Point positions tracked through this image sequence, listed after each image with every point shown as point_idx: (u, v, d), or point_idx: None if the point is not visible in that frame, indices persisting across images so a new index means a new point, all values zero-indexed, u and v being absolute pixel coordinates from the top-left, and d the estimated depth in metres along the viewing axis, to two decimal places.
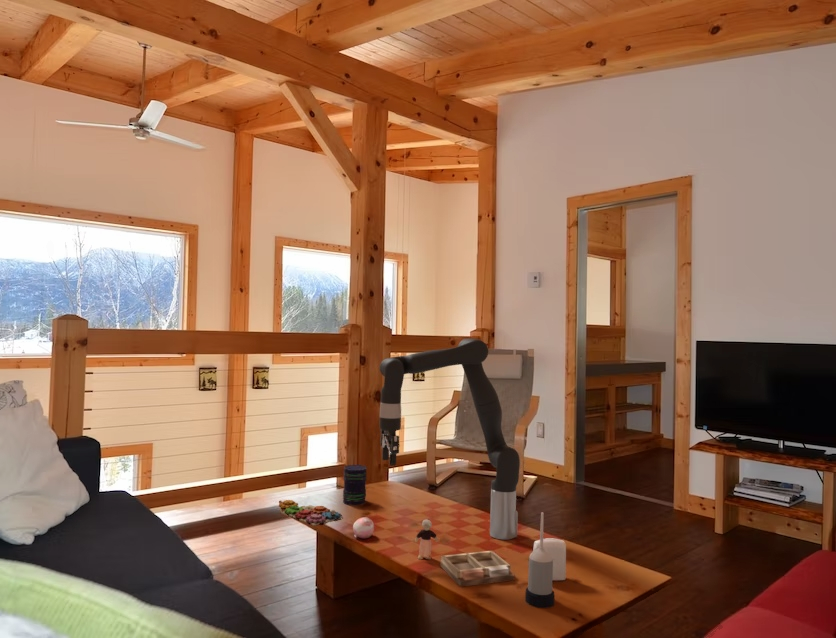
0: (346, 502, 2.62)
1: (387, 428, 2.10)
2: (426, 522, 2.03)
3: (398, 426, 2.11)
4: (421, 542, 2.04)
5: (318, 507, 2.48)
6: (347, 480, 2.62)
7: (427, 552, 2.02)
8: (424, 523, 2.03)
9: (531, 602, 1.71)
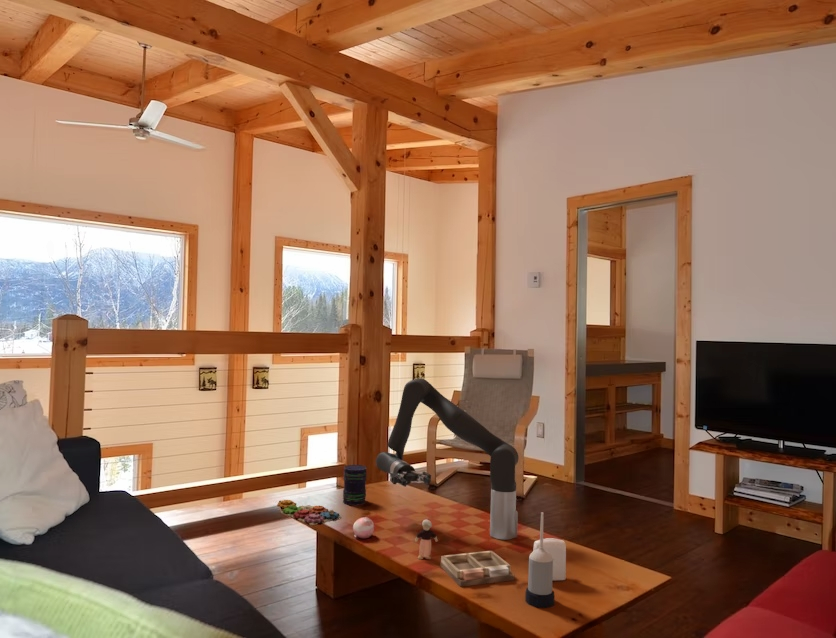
0: (346, 502, 2.62)
1: None
2: (425, 522, 2.03)
3: (397, 468, 2.26)
4: (421, 542, 2.04)
5: (316, 507, 2.48)
6: (347, 480, 2.62)
7: (427, 552, 2.02)
8: (424, 523, 2.03)
9: (531, 602, 1.71)
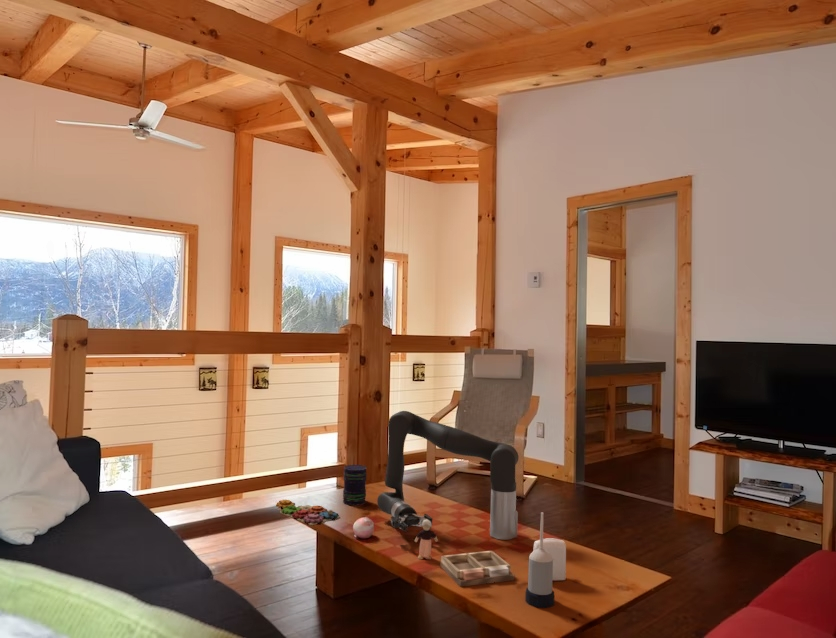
0: (346, 502, 2.62)
1: None
2: (425, 522, 2.03)
3: (398, 511, 2.23)
4: (421, 542, 2.04)
5: (315, 507, 2.48)
6: (347, 480, 2.62)
7: (427, 552, 2.02)
8: (424, 523, 2.03)
9: (531, 602, 1.71)
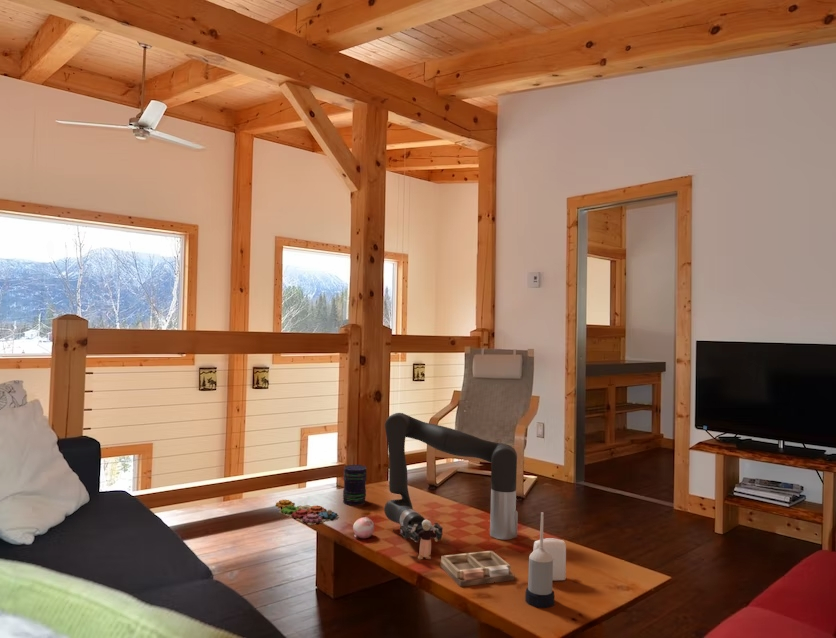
0: (346, 502, 2.62)
1: None
2: (425, 522, 2.03)
3: (407, 520, 2.14)
4: (421, 542, 2.04)
5: (315, 507, 2.48)
6: (347, 480, 2.62)
7: (427, 552, 2.02)
8: (424, 523, 2.03)
9: (531, 602, 1.71)
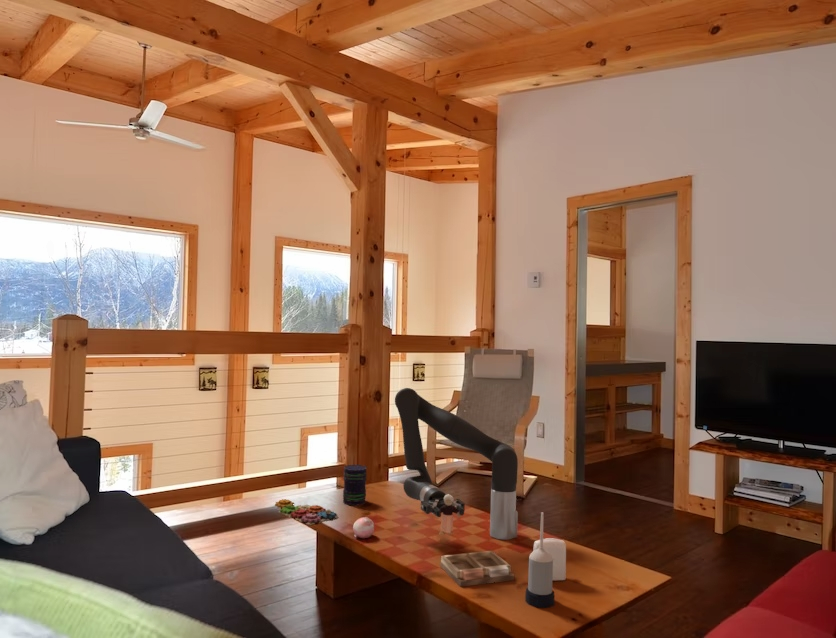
0: (346, 502, 2.62)
1: None
2: (447, 497, 1.96)
3: (428, 495, 2.07)
4: (443, 517, 1.97)
5: (314, 506, 2.48)
6: (347, 480, 2.62)
7: (449, 528, 1.95)
8: (446, 498, 1.96)
9: (531, 602, 1.71)
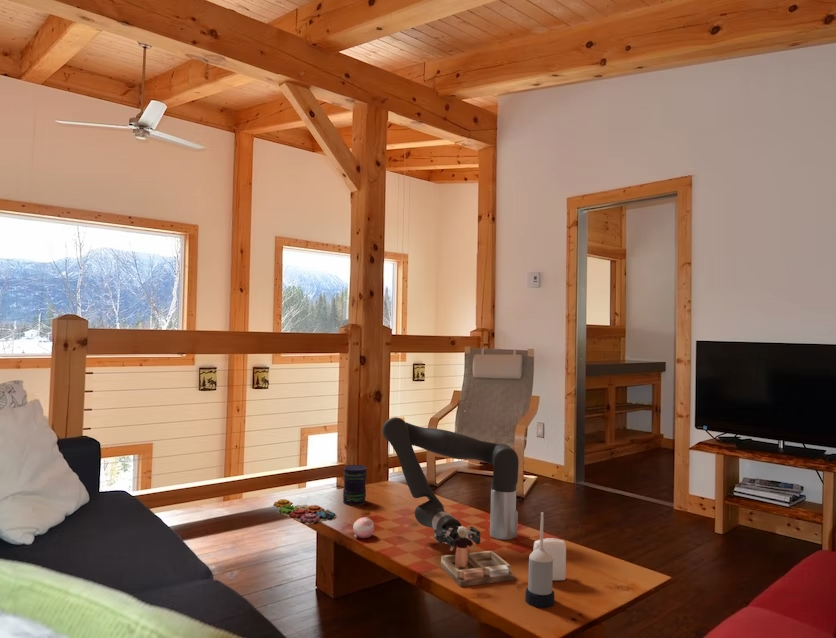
0: (346, 502, 2.62)
1: None
2: (461, 529, 1.92)
3: (441, 523, 2.02)
4: (457, 551, 1.92)
5: (312, 506, 2.49)
6: (347, 480, 2.62)
7: (464, 561, 1.91)
8: (459, 530, 1.92)
9: (531, 602, 1.71)
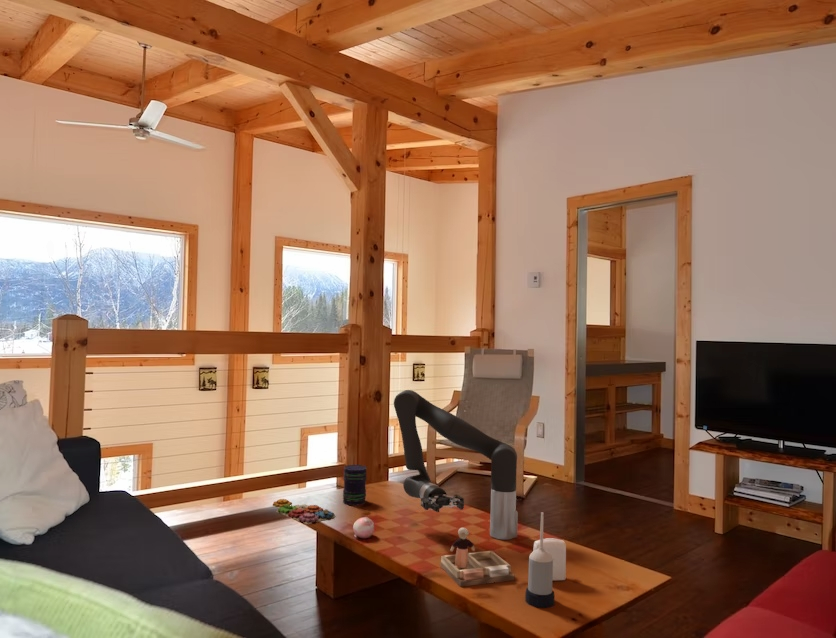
0: (346, 502, 2.62)
1: None
2: (462, 530, 1.91)
3: (428, 492, 2.15)
4: (457, 551, 1.92)
5: (311, 506, 2.49)
6: (347, 480, 2.62)
7: (464, 562, 1.91)
8: (460, 531, 1.91)
9: (531, 602, 1.71)
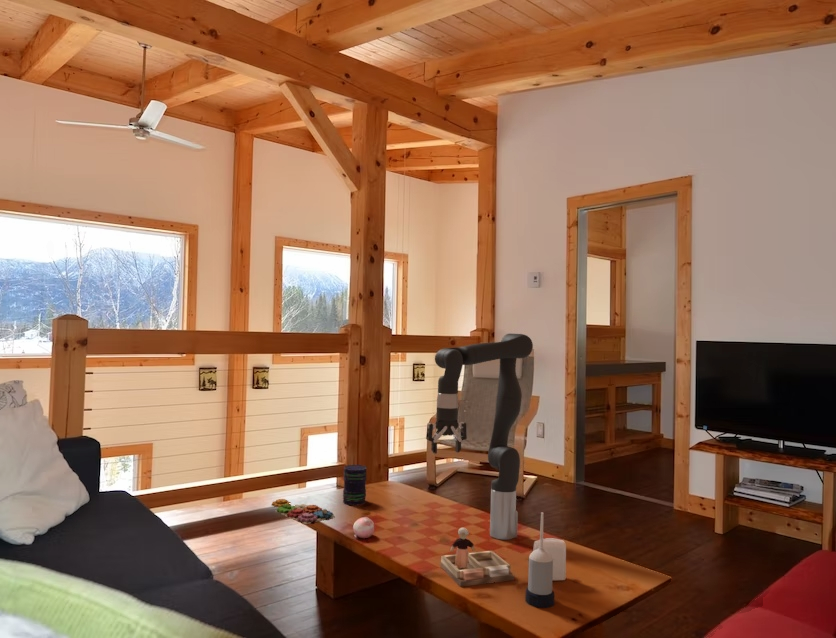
0: (346, 502, 2.62)
1: (457, 417, 2.13)
2: (462, 530, 1.91)
3: None
4: (457, 551, 1.92)
5: (310, 506, 2.49)
6: (347, 480, 2.62)
7: (464, 562, 1.91)
8: (460, 531, 1.91)
9: (531, 602, 1.71)
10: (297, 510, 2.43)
